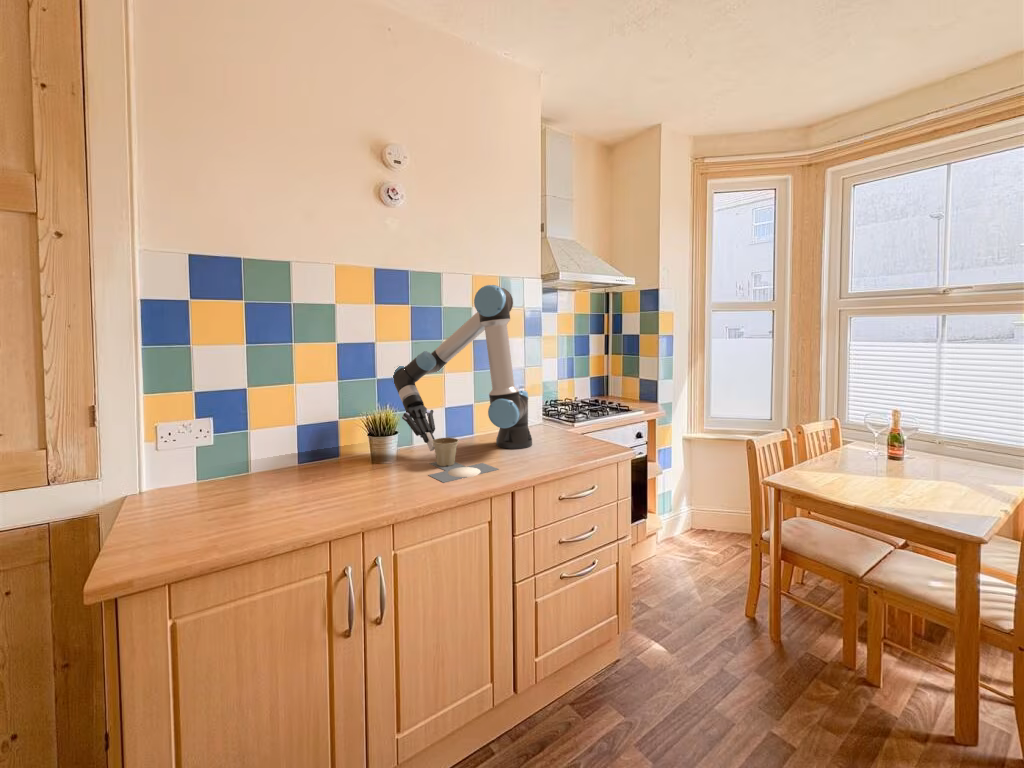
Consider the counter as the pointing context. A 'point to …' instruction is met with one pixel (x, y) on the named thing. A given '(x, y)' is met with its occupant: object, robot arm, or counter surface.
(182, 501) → the counter surface
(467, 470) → the T mat
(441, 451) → the flower pot
